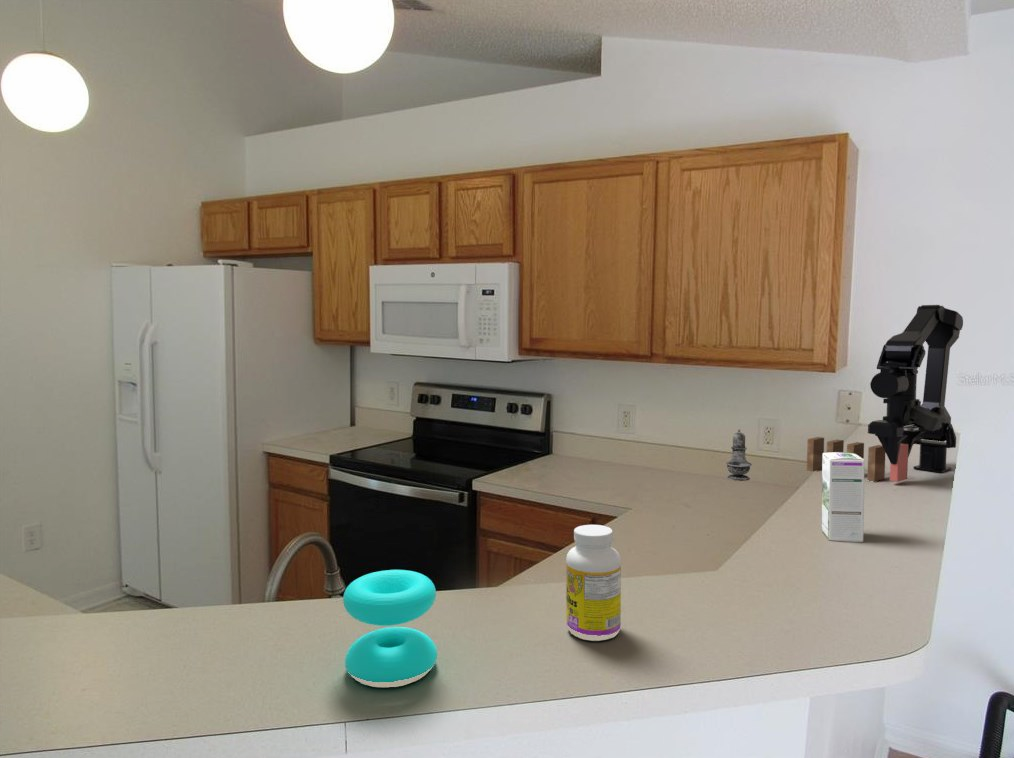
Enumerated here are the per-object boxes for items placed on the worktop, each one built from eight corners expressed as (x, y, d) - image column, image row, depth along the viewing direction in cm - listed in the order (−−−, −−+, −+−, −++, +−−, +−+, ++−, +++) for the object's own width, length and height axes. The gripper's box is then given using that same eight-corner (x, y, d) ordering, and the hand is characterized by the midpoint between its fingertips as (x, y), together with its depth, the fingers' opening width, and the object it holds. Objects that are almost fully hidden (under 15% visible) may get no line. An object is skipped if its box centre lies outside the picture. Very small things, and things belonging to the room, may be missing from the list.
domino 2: (825, 473, 170) (826, 441, 170) (836, 471, 173) (837, 439, 173) (832, 474, 169) (833, 442, 168) (842, 472, 172) (843, 440, 171)
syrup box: (864, 542, 118) (867, 458, 117) (827, 540, 119) (829, 457, 118) (854, 532, 124) (857, 452, 122) (819, 531, 125) (821, 451, 123)
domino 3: (846, 477, 166) (847, 444, 166) (856, 474, 169) (857, 442, 169) (852, 478, 165) (853, 445, 164) (863, 475, 168) (864, 442, 167)
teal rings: (333, 601, 71) (352, 566, 81) (336, 695, 71) (354, 649, 81) (432, 599, 71) (438, 565, 81) (434, 692, 72) (440, 647, 82)
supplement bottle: (565, 619, 89) (564, 521, 88) (616, 620, 89) (617, 521, 88) (568, 644, 82) (567, 538, 81) (624, 644, 82) (624, 538, 81)
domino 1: (806, 470, 174) (807, 439, 174) (817, 467, 177) (818, 436, 177) (812, 471, 173) (813, 439, 172) (823, 468, 176) (824, 437, 175)
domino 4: (867, 481, 162) (868, 447, 162) (877, 478, 165) (878, 444, 165) (874, 482, 161) (875, 448, 160) (884, 479, 164) (885, 445, 163)
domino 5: (889, 480, 158) (891, 446, 158) (899, 477, 161) (901, 443, 161) (897, 481, 157) (898, 446, 156) (907, 478, 160) (908, 444, 159)
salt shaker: (747, 475, 169) (748, 427, 168) (754, 481, 163) (755, 430, 162) (723, 475, 170) (723, 426, 169) (728, 481, 164) (729, 430, 163)
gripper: (921, 400, 146) (918, 474, 147) (958, 394, 157) (955, 462, 158) (867, 396, 154) (865, 465, 156) (905, 390, 166) (903, 455, 167)
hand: (899, 462), depth 159 cm, fingers closed on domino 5, 5 cm apart
